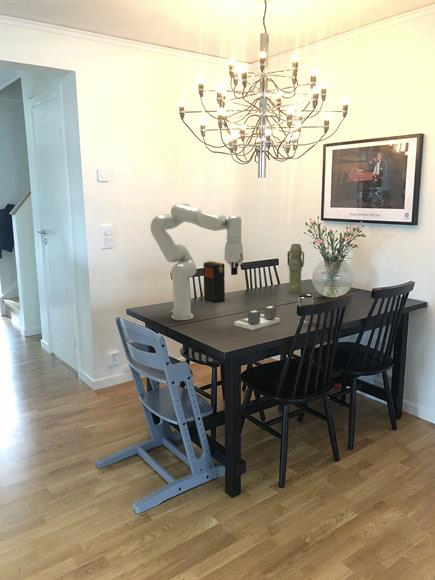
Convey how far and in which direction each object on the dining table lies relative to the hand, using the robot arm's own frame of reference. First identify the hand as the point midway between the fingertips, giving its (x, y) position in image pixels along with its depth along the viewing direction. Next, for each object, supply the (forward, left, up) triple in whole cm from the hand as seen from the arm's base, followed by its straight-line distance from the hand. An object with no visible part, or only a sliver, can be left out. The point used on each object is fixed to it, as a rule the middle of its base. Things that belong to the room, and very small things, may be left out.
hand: (234, 274), depth 246 cm
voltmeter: (-50, +31, -27) cm, 65 cm away
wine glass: (+26, +28, -27) cm, 47 cm away
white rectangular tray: (+8, +9, -27) cm, 30 cm away
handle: (+12, +15, -25) cm, 31 cm away
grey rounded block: (+12, +3, -25) cm, 28 cm away
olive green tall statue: (-22, +81, -27) cm, 88 cm away
